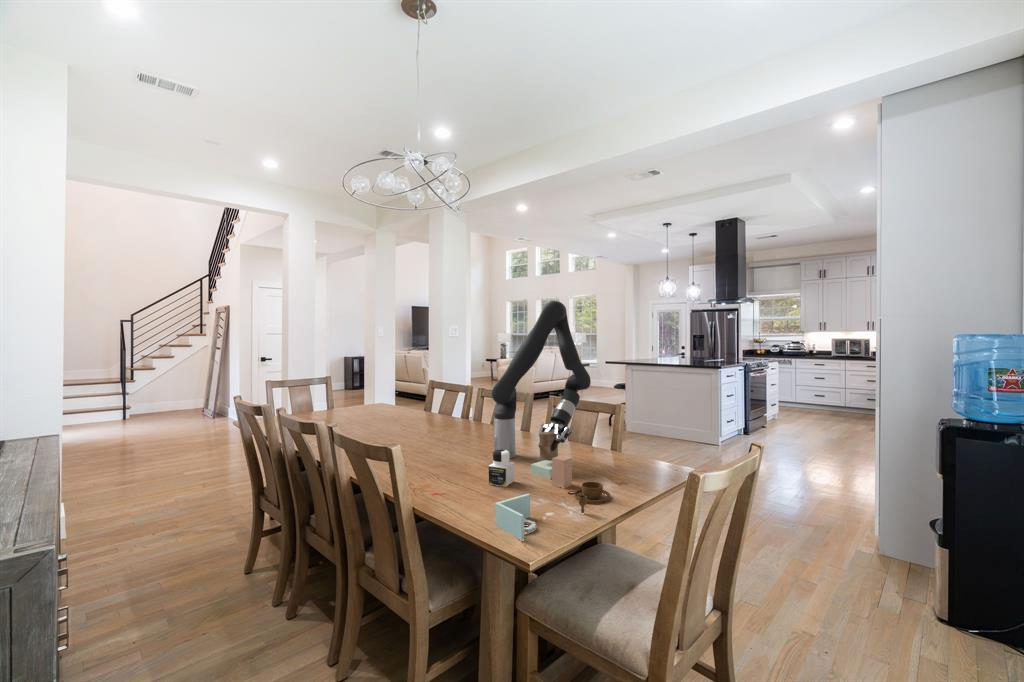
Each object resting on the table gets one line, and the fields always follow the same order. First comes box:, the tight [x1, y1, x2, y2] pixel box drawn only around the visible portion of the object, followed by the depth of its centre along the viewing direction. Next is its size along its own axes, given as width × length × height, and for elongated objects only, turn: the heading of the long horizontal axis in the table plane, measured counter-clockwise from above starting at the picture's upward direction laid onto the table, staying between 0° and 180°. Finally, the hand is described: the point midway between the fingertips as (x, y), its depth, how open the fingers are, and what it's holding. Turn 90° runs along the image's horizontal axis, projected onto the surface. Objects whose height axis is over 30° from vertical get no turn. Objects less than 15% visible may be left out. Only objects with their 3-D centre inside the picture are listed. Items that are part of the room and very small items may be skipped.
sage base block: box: [530, 460, 552, 480], centre depth 182 cm, size 10×10×4 cm
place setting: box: [567, 481, 611, 514], centre depth 152 cm, size 18×20×6 cm
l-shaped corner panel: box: [494, 493, 538, 540], centre depth 132 cm, size 12×12×8 cm
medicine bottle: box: [488, 450, 515, 488], centre depth 171 cm, size 7×7×12 cm
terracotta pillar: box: [551, 454, 573, 489], centre depth 167 cm, size 5×5×10 cm
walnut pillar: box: [539, 431, 559, 461], centre depth 181 cm, size 5×5×10 cm
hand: (546, 448), depth 180 cm, fingers closed on walnut pillar, 5 cm apart
